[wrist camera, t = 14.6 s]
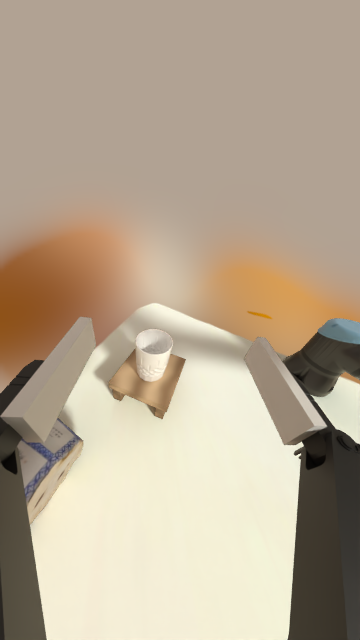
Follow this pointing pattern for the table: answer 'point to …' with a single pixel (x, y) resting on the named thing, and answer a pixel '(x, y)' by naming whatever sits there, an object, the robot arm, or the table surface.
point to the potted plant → (47, 465)
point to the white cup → (152, 353)
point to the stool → (147, 383)
